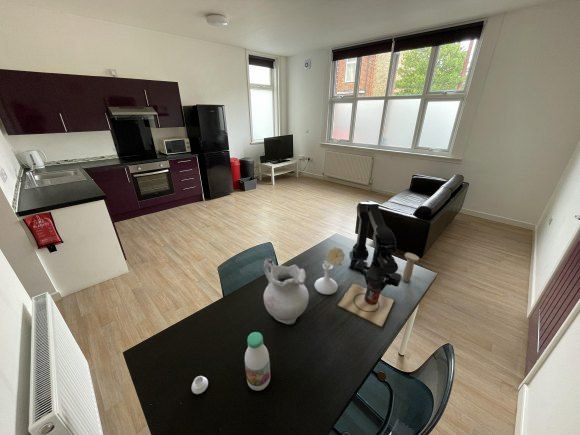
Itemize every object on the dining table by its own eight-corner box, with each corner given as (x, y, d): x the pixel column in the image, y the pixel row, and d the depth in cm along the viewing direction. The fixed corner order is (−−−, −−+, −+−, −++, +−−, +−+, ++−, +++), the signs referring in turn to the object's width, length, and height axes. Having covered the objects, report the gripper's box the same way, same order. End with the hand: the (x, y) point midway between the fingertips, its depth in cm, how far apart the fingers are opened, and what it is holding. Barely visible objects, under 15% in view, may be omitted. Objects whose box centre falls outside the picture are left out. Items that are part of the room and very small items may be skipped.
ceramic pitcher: (252, 319, 103) (245, 276, 91) (273, 288, 119) (270, 248, 106) (297, 338, 95) (296, 293, 83) (314, 302, 110) (315, 260, 98)
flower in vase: (311, 293, 116) (313, 249, 105) (318, 278, 126) (320, 237, 115) (338, 300, 112) (343, 256, 101) (342, 285, 121) (347, 243, 111)
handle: (403, 275, 128) (409, 251, 122) (414, 282, 123) (421, 257, 117) (397, 278, 126) (403, 254, 119) (408, 285, 121) (414, 260, 114)
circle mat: (337, 305, 109) (337, 304, 109) (353, 284, 122) (353, 283, 122) (382, 327, 98) (382, 326, 98) (393, 301, 111) (394, 300, 111)
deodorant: (377, 297, 112) (385, 272, 105) (377, 306, 107) (385, 281, 100) (364, 293, 113) (371, 269, 106) (363, 302, 108) (370, 278, 101)
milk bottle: (248, 368, 83) (243, 328, 74) (270, 366, 84) (267, 326, 75) (246, 392, 76) (240, 351, 67) (270, 390, 77) (267, 348, 68)
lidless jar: (205, 394, 76) (209, 378, 80) (204, 388, 74) (208, 372, 79) (189, 394, 76) (194, 378, 80) (188, 389, 74) (193, 373, 79)
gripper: (351, 260, 99) (347, 289, 105) (398, 277, 89) (390, 308, 95) (361, 248, 107) (357, 276, 113) (405, 263, 97) (398, 292, 103)
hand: (374, 287), depth 106 cm, fingers closed on deodorant, 6 cm apart
